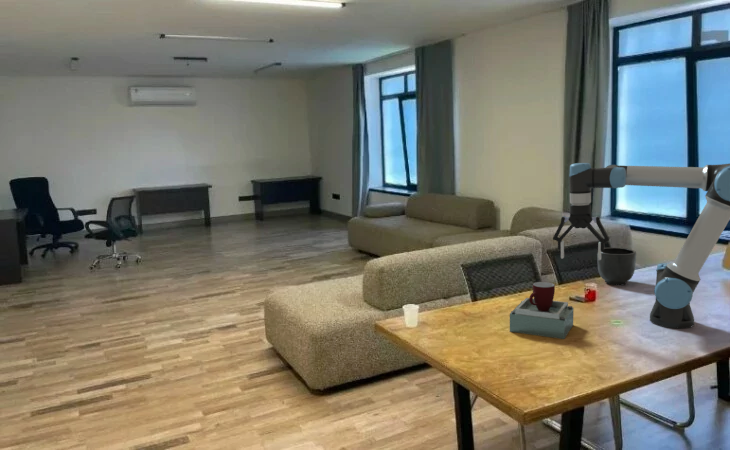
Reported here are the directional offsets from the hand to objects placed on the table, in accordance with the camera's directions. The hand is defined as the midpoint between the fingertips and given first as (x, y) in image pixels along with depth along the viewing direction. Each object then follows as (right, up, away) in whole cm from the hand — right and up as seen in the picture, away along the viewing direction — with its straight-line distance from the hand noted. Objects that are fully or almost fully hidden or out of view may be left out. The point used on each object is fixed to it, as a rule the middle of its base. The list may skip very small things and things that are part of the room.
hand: (580, 258), depth 219 cm
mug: (-16, -20, -1) cm, 25 cm away
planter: (+39, -16, +58) cm, 71 cm away
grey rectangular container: (-15, -27, 0) cm, 31 cm away
